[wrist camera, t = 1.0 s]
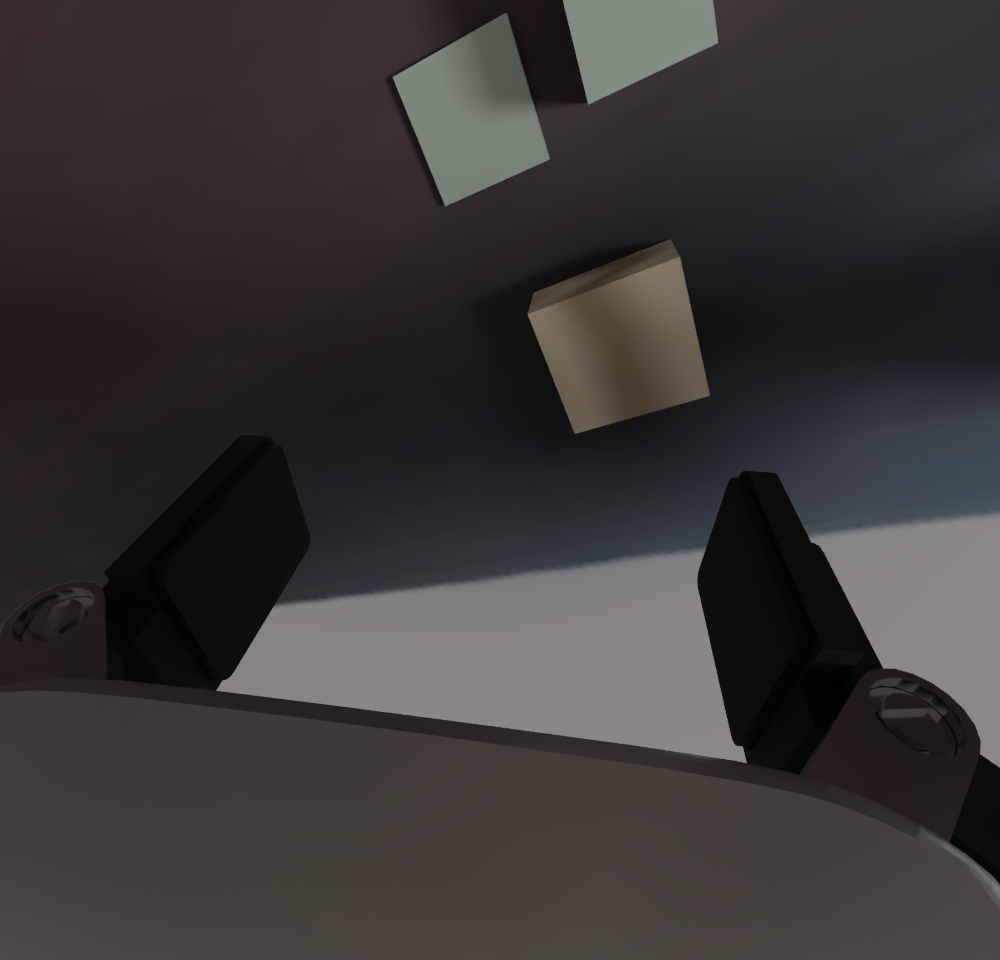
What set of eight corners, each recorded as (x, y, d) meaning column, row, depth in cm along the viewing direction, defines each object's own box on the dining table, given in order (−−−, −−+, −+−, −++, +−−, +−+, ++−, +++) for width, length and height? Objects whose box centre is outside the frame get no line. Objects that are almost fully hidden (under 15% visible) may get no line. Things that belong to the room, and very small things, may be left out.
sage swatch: (507, 13, 23) (506, 12, 23) (549, 158, 26) (549, 159, 26) (394, 77, 25) (392, 77, 25) (446, 205, 28) (445, 206, 28)
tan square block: (669, 237, 28) (679, 256, 25) (698, 365, 32) (710, 395, 29) (534, 291, 31) (527, 314, 28) (576, 402, 35) (574, 433, 32)
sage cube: (675, -99, 20) (695, -145, 17) (696, 51, 23) (718, 42, 19) (556, -31, 22) (548, -57, 18) (588, 102, 25) (588, 104, 21)
